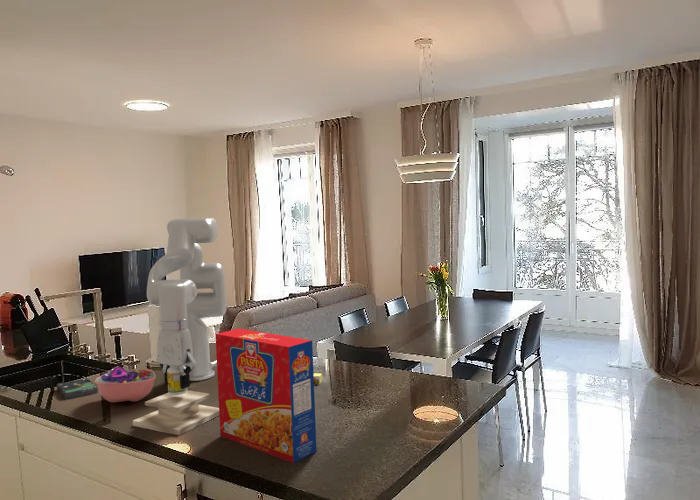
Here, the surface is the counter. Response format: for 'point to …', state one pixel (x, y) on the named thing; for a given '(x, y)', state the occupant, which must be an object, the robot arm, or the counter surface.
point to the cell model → (125, 384)
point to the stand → (177, 413)
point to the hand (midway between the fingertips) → (177, 385)
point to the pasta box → (267, 392)
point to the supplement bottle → (174, 381)
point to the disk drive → (77, 388)
